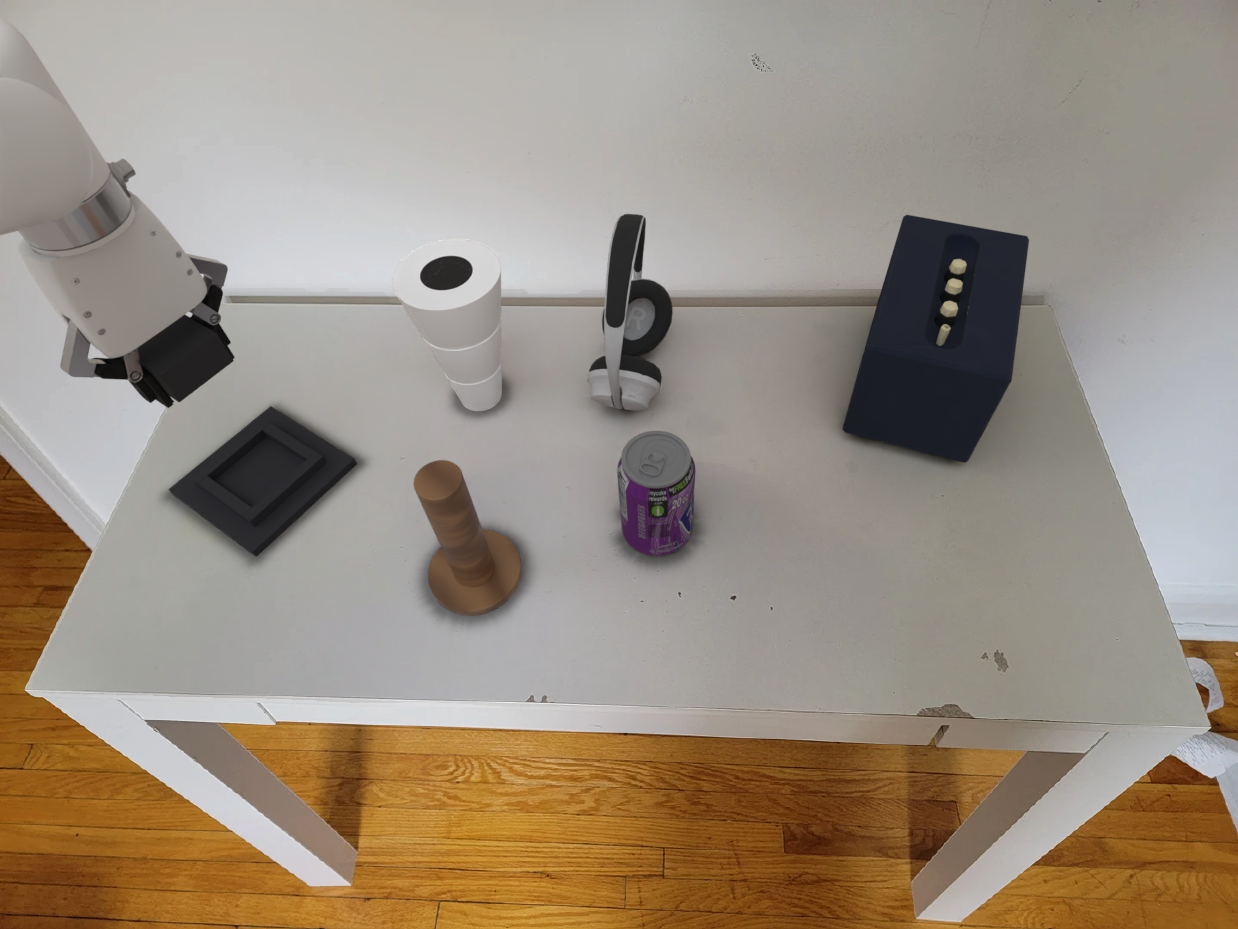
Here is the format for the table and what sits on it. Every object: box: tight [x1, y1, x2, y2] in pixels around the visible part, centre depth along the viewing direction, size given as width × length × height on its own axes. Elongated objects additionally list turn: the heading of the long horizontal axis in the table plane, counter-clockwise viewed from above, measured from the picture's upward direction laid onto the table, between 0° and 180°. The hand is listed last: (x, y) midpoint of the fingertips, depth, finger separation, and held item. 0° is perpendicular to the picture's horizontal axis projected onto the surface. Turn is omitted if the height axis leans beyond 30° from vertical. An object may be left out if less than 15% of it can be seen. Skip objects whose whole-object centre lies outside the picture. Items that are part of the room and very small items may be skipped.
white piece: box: [391, 237, 503, 412], centre depth 82 cm, size 11×11×18 cm
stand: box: [413, 459, 523, 617], centre depth 69 cm, size 9×9×16 cm
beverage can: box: [616, 430, 696, 557], centre depth 72 cm, size 7×7×12 cm
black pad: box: [138, 314, 235, 403], centre depth 68 cm, size 6×6×4 cm
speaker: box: [842, 214, 1030, 464], centre depth 81 cm, size 22×13×15 cm, turn 159°
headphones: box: [586, 213, 674, 411], centre depth 82 cm, size 19×8×20 cm, turn 172°
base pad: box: [168, 406, 358, 557], centre depth 82 cm, size 14×14×2 cm
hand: (192, 375), depth 70 cm, fingers closed on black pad, 6 cm apart
